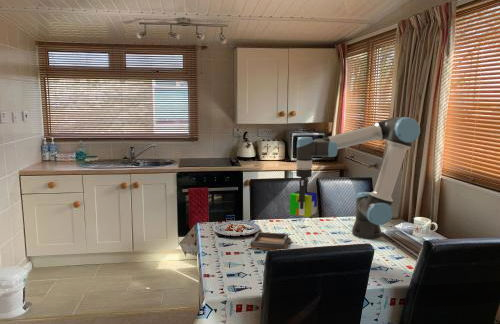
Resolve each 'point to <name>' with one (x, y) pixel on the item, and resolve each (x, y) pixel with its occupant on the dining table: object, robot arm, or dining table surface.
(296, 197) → the puzzle toy
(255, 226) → the ceramic plate
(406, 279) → the dining table surface
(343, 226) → the dining table surface
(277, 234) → the pocket board
